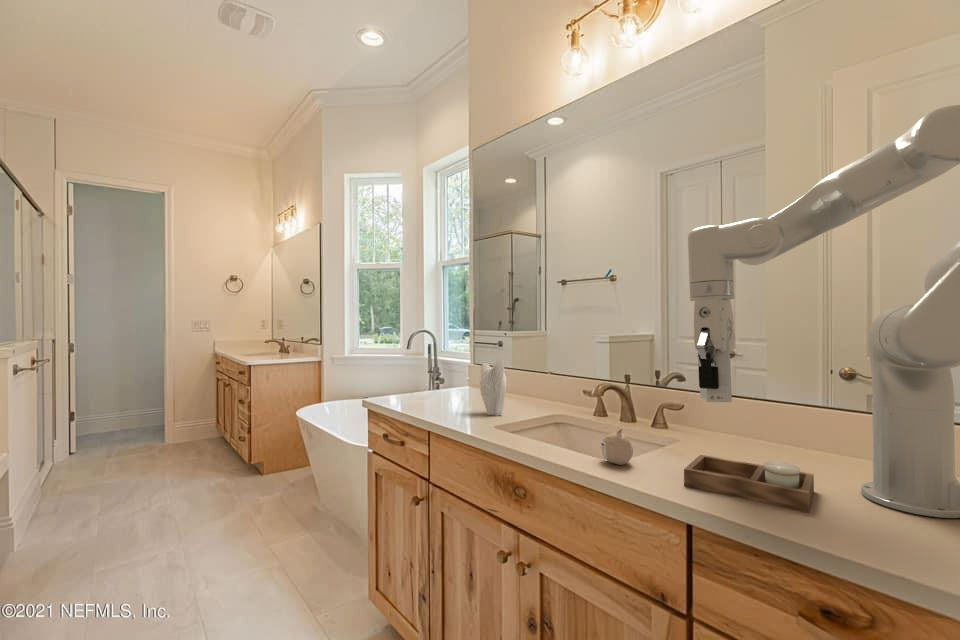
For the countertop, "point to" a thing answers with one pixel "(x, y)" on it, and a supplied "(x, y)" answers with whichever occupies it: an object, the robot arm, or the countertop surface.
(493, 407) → the shell sculpture
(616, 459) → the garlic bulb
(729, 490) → the walnut caddy
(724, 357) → the skincare box
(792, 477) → the cream jar
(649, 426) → the countertop surface
